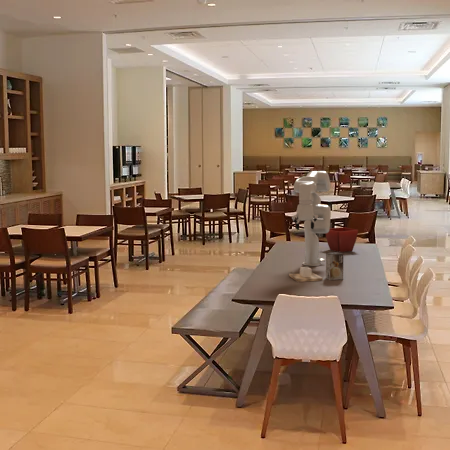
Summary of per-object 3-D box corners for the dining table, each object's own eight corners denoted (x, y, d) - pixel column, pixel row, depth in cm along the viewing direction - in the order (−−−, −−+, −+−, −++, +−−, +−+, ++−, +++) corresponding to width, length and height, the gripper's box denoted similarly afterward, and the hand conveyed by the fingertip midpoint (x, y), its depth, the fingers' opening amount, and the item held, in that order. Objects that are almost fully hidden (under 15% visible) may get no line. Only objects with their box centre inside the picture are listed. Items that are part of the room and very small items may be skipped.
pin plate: (313, 275, 394) (313, 265, 394) (322, 280, 379) (322, 270, 378) (289, 276, 391) (289, 266, 390) (297, 281, 375) (297, 272, 375)
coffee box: (338, 277, 388) (339, 252, 386) (343, 279, 382) (344, 253, 380) (325, 278, 386) (325, 252, 384) (329, 280, 380) (330, 254, 377)
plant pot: (323, 249, 487) (324, 228, 485) (343, 247, 495) (344, 226, 493) (337, 253, 470) (338, 231, 468) (358, 251, 478) (358, 230, 476)
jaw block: (307, 274, 389) (307, 266, 388) (311, 276, 382) (311, 269, 381) (299, 275, 388) (299, 267, 387) (303, 277, 381) (303, 269, 380)
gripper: (315, 201, 396) (315, 227, 399) (290, 202, 392) (290, 228, 395) (320, 202, 389) (319, 229, 392) (294, 204, 385) (294, 231, 388)
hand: (304, 229), depth 394 cm, fingers open, 9 cm apart
